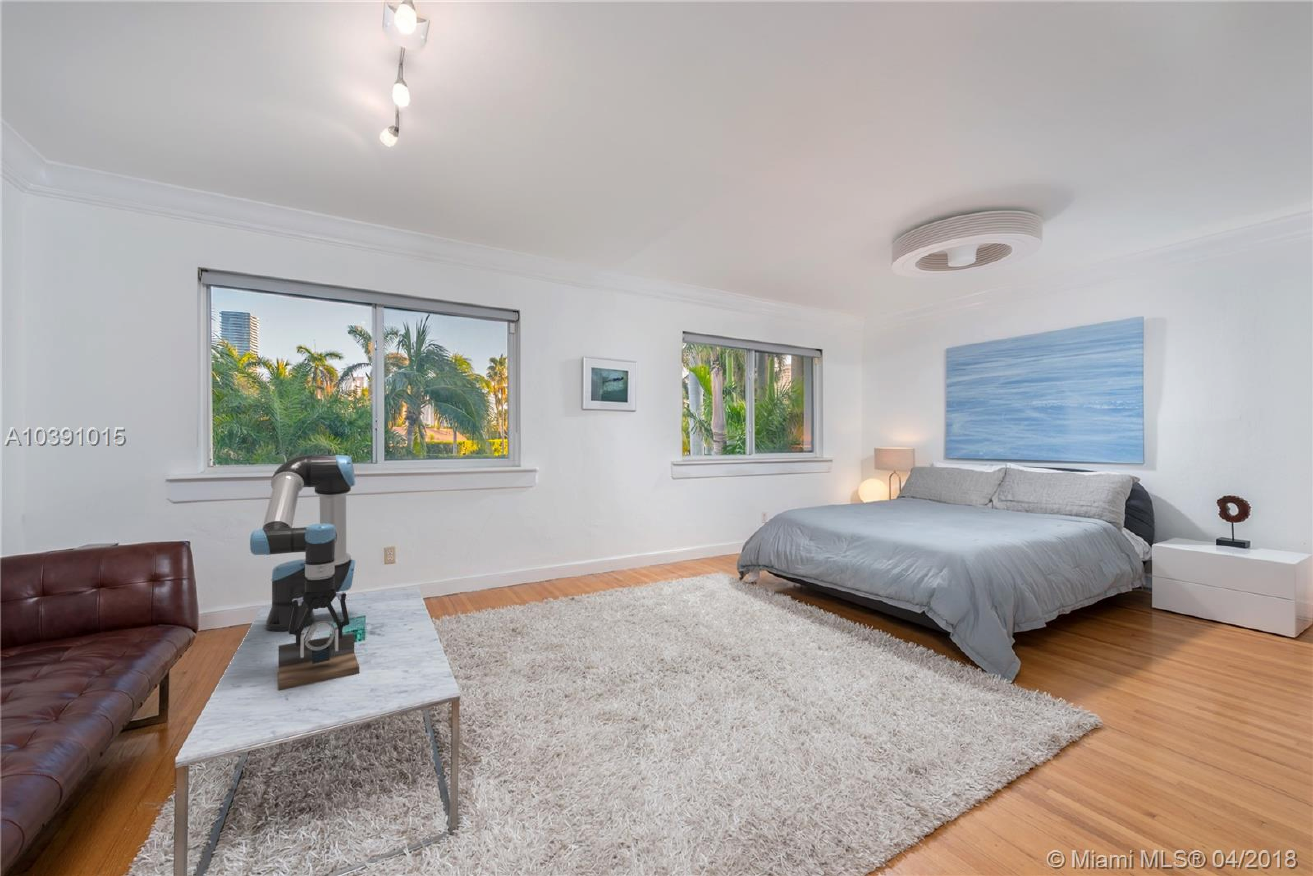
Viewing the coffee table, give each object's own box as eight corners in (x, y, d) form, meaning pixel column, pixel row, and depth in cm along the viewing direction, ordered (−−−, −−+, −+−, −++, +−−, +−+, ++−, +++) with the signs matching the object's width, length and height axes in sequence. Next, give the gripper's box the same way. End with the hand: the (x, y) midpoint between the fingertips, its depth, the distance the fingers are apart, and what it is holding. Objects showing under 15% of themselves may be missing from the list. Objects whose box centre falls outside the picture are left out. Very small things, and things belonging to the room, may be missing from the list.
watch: (306, 659, 164) (303, 622, 164) (337, 652, 168) (334, 617, 167) (304, 666, 159) (301, 628, 159) (336, 659, 163) (333, 622, 163)
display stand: (278, 672, 165) (278, 645, 165) (353, 657, 176) (353, 632, 176) (278, 690, 154) (278, 661, 153) (359, 673, 165) (359, 646, 165)
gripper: (277, 584, 154) (276, 665, 154) (361, 574, 166) (360, 649, 166) (277, 578, 160) (276, 656, 160) (358, 569, 172) (357, 641, 172)
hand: (319, 652), depth 163 cm, fingers closed on watch, 8 cm apart
